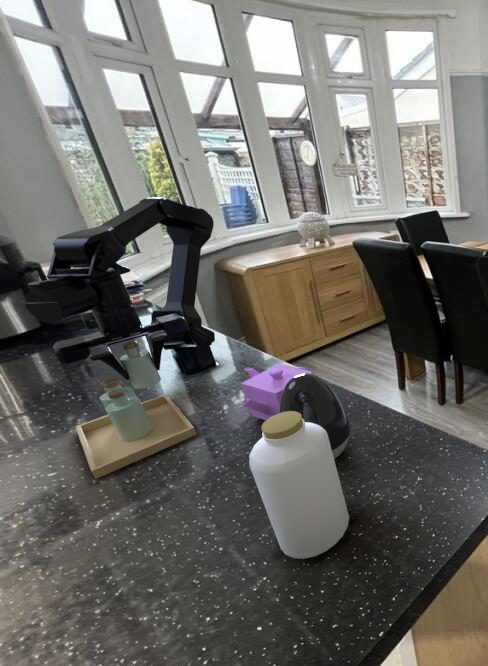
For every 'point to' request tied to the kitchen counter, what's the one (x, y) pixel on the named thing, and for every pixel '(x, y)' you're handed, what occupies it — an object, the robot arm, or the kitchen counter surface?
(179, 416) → the tray
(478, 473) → the kitchen counter surface
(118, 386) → the row bottle
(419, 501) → the kitchen counter surface
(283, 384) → the teapot
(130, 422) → the row bottle
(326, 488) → the white jar with lid
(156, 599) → the kitchen counter surface
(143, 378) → the loose bottle
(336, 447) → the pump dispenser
